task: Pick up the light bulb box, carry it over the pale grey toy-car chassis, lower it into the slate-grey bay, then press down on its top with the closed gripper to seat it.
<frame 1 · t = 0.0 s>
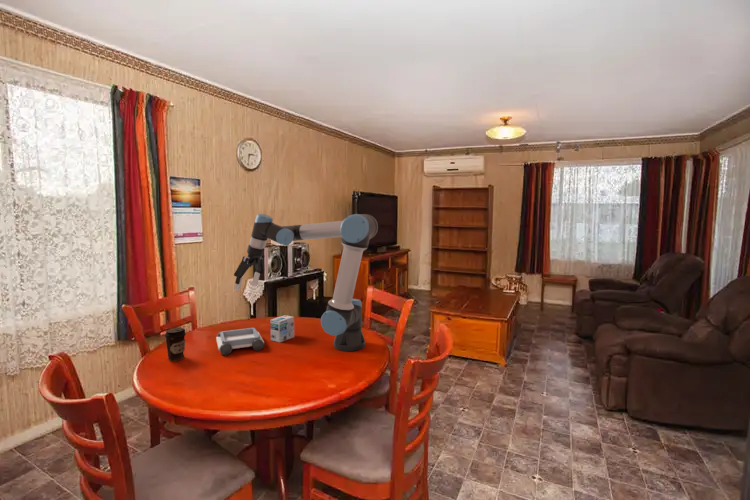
hand: (245, 287, 189), 28 cm above the table, tool tilted 20°, fingers open, 13 cm apart
coffee cup: (176, 359, 171), on the table
light bulb box: (282, 339, 198), on the table
chassis: (239, 345, 188), on the table
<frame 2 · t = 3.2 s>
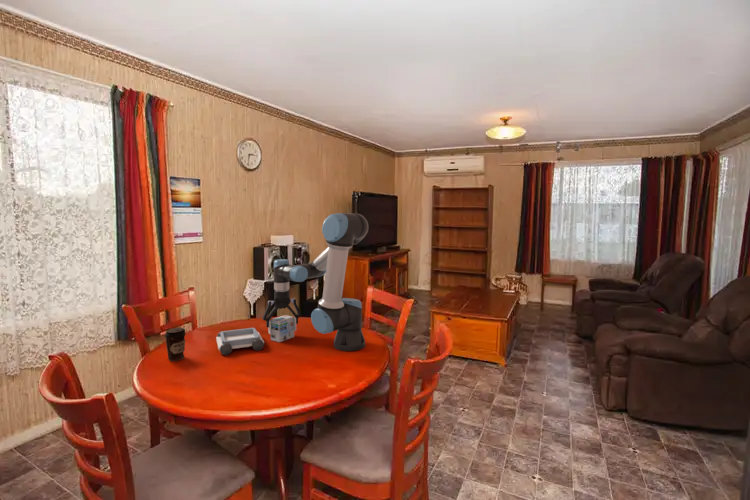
hand: (282, 331, 198), 3 cm above the table, tool pointing down, fingers closed on light bulb box, 12 cm apart
light bulb box: (282, 338, 198), on the table, touching gripper
everything else where it was.
when the fingers open (8 cm above the table, at t = 9.3 s): light bulb box drops 1 cm, resting on chassis.
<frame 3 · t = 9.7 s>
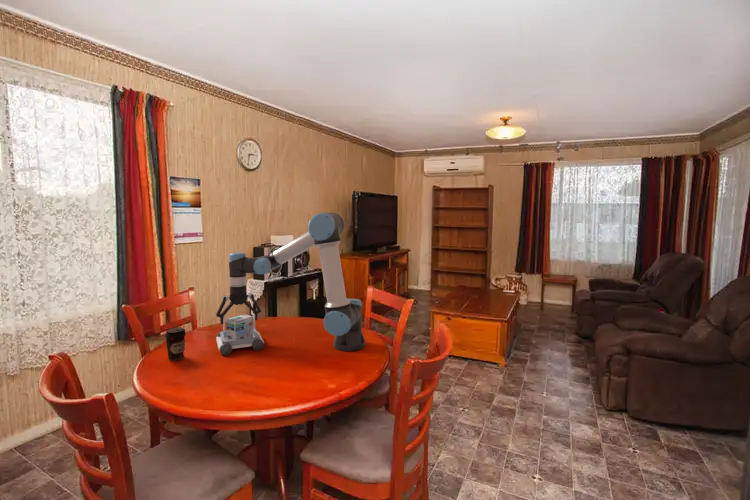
hand: (239, 328, 187), 8 cm above the table, tool pointing down, fingers open, 13 cm apart
light bulb box: (240, 339, 187), point 3 cm above the table, touching chassis
everything else where it was.
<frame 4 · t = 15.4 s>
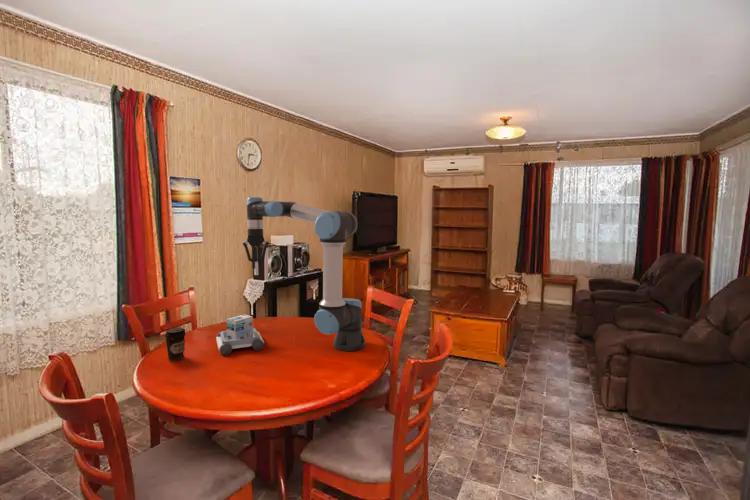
hand: (256, 274, 198), 32 cm above the table, tool pointing down, fingers closed
nothing on the table moved.
at the end: light bulb box inside the target area on the chassis (0.3 cm from its centre), point 2.9 cm above the chassis's base; light bulb box tilted 0°; the gripper is holding nothing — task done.
